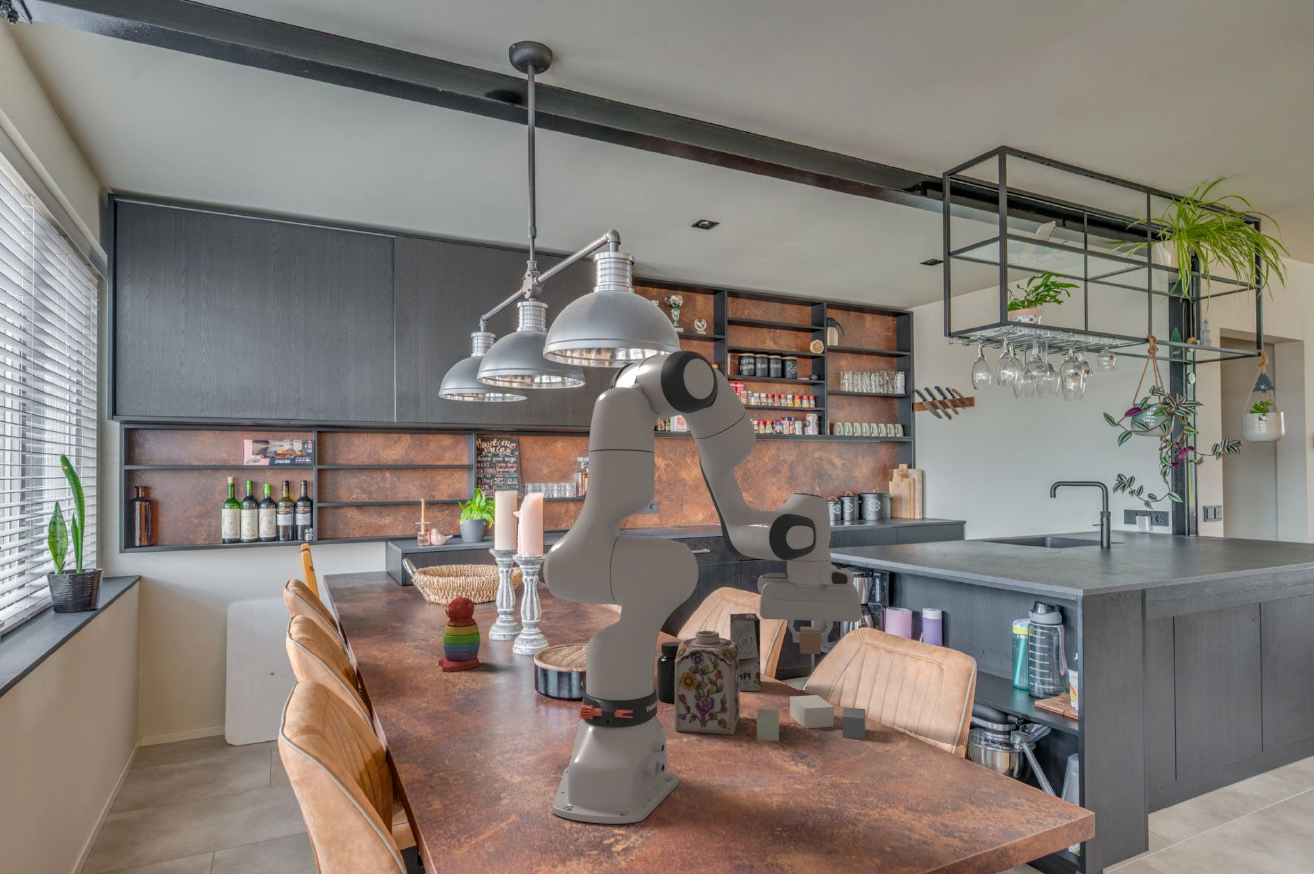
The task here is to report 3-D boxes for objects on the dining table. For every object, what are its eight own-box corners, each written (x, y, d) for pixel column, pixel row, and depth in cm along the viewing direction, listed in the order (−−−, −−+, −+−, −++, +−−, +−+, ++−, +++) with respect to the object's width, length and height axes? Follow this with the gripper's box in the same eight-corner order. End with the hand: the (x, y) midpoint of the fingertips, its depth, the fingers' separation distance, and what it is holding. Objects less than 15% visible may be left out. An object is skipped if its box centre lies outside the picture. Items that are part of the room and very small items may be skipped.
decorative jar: (734, 736, 140) (733, 639, 141) (673, 732, 142) (673, 637, 143) (740, 716, 152) (739, 627, 153) (684, 712, 154) (683, 625, 155)
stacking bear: (436, 663, 197) (437, 595, 198) (475, 659, 201) (476, 592, 202) (443, 672, 187) (444, 601, 188) (483, 668, 191) (484, 598, 192)
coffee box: (761, 691, 169) (760, 619, 170) (733, 691, 169) (732, 619, 170) (757, 680, 178) (756, 612, 179) (730, 680, 178) (729, 612, 179)
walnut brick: (820, 654, 146) (820, 633, 147) (800, 653, 147) (799, 632, 147) (820, 646, 152) (820, 627, 152) (800, 646, 153) (800, 626, 153)
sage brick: (778, 741, 137) (778, 719, 138) (757, 740, 138) (756, 718, 138) (778, 730, 143) (778, 709, 143) (757, 729, 144) (757, 708, 144)
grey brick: (864, 740, 138) (864, 718, 138) (842, 738, 139) (842, 716, 139) (865, 729, 143) (865, 708, 144) (844, 728, 145) (843, 707, 145)
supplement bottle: (689, 694, 167) (688, 640, 167) (687, 703, 160) (687, 647, 161) (658, 694, 167) (658, 640, 168) (655, 703, 161) (655, 647, 161)
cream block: (833, 727, 145) (833, 706, 146) (804, 729, 144) (804, 708, 144) (817, 714, 153) (817, 694, 153) (790, 716, 152) (789, 696, 152)
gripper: (756, 574, 149) (757, 643, 149) (861, 576, 145) (862, 647, 145) (758, 570, 156) (759, 636, 155) (859, 572, 151) (860, 640, 151)
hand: (810, 642), depth 150 cm, fingers closed on walnut brick, 4 cm apart
